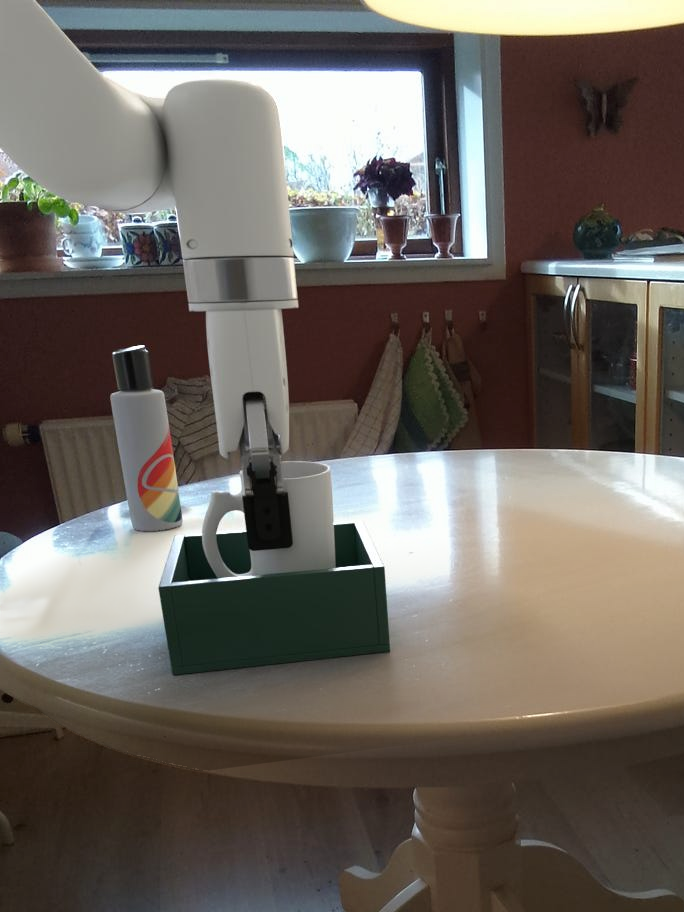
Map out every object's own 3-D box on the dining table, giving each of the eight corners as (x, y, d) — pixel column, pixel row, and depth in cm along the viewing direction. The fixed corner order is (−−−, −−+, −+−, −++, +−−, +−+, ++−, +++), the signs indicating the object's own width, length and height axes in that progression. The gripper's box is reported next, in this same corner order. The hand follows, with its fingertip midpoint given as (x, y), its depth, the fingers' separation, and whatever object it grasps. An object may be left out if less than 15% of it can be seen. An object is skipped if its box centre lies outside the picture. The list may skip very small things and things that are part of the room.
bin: (172, 675, 66) (158, 586, 63) (185, 610, 79) (174, 535, 76) (390, 651, 69) (384, 566, 66) (368, 592, 82) (362, 520, 80)
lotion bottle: (189, 526, 107) (162, 345, 99) (138, 534, 104) (107, 349, 97) (176, 517, 111) (149, 343, 104) (127, 524, 108) (96, 347, 101)
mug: (330, 600, 78) (319, 458, 74) (351, 626, 72) (341, 474, 68) (207, 617, 74) (188, 469, 70) (219, 646, 69) (199, 487, 64)
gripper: (193, 289, 72) (223, 514, 78) (177, 289, 56) (216, 571, 62) (291, 286, 73) (312, 507, 80) (302, 285, 57) (327, 562, 64)
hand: (270, 534), depth 71 cm, fingers closed on mug, 6 cm apart
